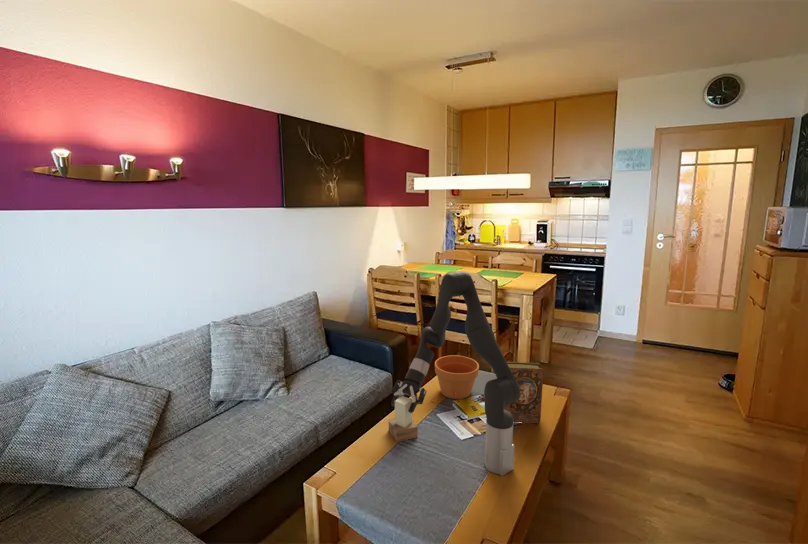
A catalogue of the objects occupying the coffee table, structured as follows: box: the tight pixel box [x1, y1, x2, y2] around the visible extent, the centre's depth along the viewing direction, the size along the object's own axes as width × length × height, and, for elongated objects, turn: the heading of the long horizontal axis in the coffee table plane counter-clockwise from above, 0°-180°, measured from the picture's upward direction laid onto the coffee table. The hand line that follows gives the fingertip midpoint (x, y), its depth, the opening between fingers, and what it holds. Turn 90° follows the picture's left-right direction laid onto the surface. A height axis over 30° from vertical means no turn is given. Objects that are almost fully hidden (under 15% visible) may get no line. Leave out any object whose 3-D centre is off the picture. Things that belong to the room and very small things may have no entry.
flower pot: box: [434, 354, 480, 400], centre depth 198 cm, size 21×21×15 cm
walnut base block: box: [388, 418, 419, 443], centre depth 165 cm, size 9×9×5 cm
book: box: [504, 361, 544, 425], centre depth 173 cm, size 16×6×25 cm, turn 84°
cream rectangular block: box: [394, 395, 413, 428], centre depth 164 cm, size 5×5×10 cm
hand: (401, 409), depth 163 cm, fingers open, 8 cm apart
